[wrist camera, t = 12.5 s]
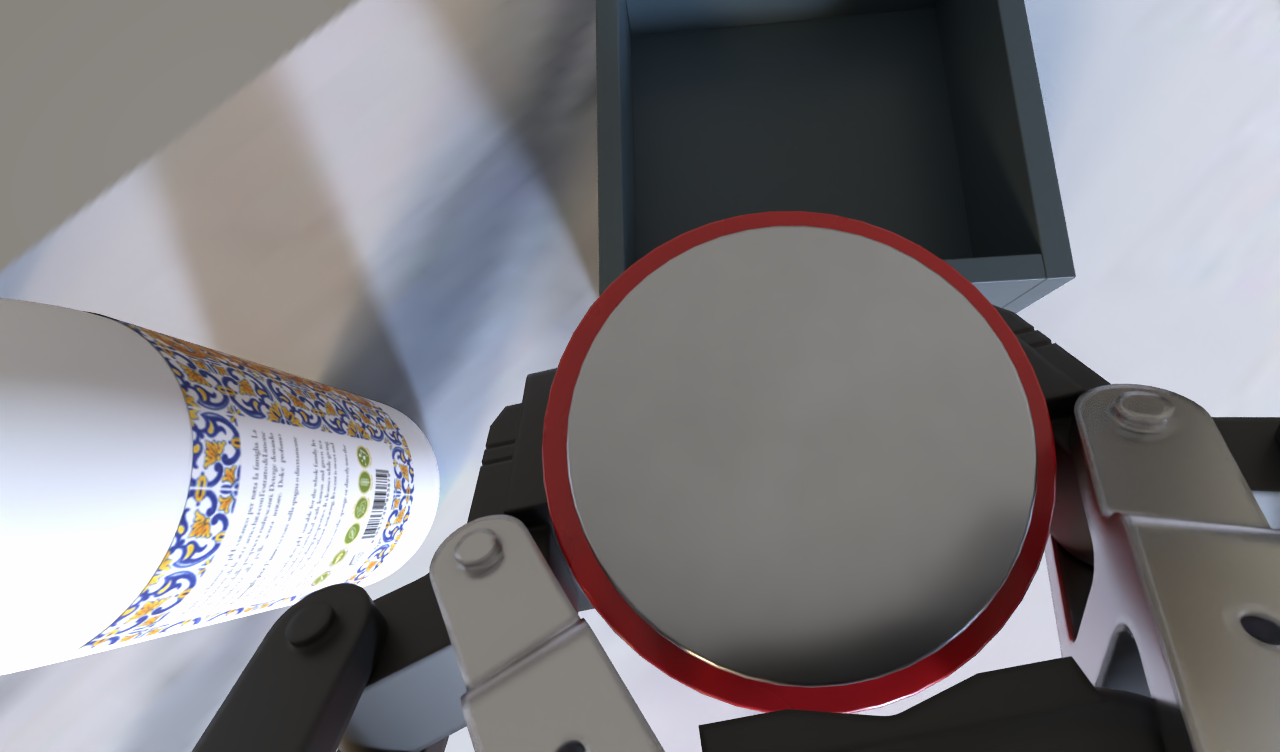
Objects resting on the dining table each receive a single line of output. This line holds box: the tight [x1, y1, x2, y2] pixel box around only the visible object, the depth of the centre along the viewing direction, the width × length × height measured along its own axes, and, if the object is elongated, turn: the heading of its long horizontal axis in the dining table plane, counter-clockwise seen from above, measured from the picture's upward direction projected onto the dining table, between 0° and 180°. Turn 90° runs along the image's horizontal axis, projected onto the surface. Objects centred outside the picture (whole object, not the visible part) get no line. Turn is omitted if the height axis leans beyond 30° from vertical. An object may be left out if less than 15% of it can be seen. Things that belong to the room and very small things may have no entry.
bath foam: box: [0, 298, 440, 675], centre depth 13 cm, size 7×7×20 cm
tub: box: [596, 0, 1076, 313], centre depth 21 cm, size 14×14×5 cm
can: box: [542, 211, 1057, 714], centre depth 12 cm, size 6×6×10 cm
